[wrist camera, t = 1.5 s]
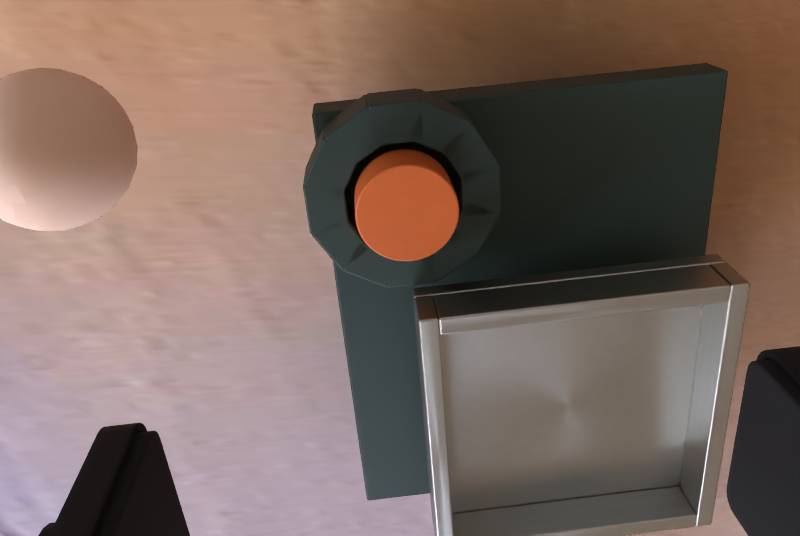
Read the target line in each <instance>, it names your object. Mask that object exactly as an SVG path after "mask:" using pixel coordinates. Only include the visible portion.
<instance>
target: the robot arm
mask: <svg viewBox="0 0 800 536" xmlns="http://www.w3.org/2000/svg"><path fill="white" fill-rule="evenodd" d="M727 498H728V502H729V505H730V508H731V510H732V512H733V513H734V515H735V516H736V518H737V519H738V521H739V522H740V524H741V525H742V527H743V528H744V530H745V531H746V533H747V534H748V536H800V347H799V346H798V347H789V348H780V349H772V350H765V351H762V352H761V353H760V354H759V355H758V357H757V360H756V361H753V362H751V363H750V364H749V365H748V369H747V374H746V379H745V385H744V391H743V397H742V403H741V408H740V414H739V420H738V426H737V432H736V437H735V443H734V449H733V455H732V461H731V466H730V472H729V478H728V484H727ZM39 536H190V534H189V531H188V528H187V525H186V521H185V518H184V515H183V511H182V508H181V505H180V502H179V498H178V495H177V492H176V489H175V485H174V482H173V479H172V476H171V472H170V469H169V466H168V463H167V459H166V456H165V453H164V450H163V446H162V443H161V440H160V437H159V435H158V433H157V432H156V431H148V432H147V430H146V427H145V426H144V425H143V424H142V423H134V424H125V425H117V426H108V427H103V428H101V429H100V431H99V432H98V434H97V436H96V438H95V440H94V442H93V445H92V447H91V449H90V451H89V453H88V455H87V457H86V459H85V461H84V464H83V466H82V468H81V470H80V472H79V474H78V476H77V478H76V480H75V483H74V485H73V487H72V489H71V491H70V493H69V495H68V497H67V499H66V501H65V504H64V506H63V508H62V510H61V512H60V514H59V516H58V518H57V520H56V522H55V523H49V524H48V525H47V526H46V527H44V528H43V529H42V531H41V533H40V534H39Z"/></svg>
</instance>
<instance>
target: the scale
mask: <svg viewBox="0 0 800 536" xmlns="http://www.w3.org/2000/svg"><path fill="white" fill-rule="evenodd" d="M727 75H728V72H727V71H726V70H724V69H721V68H718V67H716V66H713V65H711V64H708V63H702V64H692V65H683V66H673V67H663V68H654V69H644V70H634V71H625V72H615V73H605V74H596V75H586V76H576V77H567V78H557V79H547V80H538V81H528V82H518V83H509V84H499V85H489V86H480V87H470V88H460V89H451V90H441V91H431V92H425V91H423V90H421V89H406V90H397V91H387V92H377V93H368V94H367V95H364V96H362V97H361V98H359V99H354V100H344V101H335V102H325V103H316V104H314V106H313V113H312V118H313V125H314V132H315V139H316V145H315V147H314V150H313V152H312V154H311V157H310V159H309V161H308V164H307V166H306V170H305V177H304V185H303V190H304V196H305V202H306V209H307V215H308V221H309V228H310V233H311V234H312V236H313V237H314V238H315V239H316V241H317V242H318V243H319V244H320V245H321V247H322V248H323V249H324V250H325V251H326V252H327V254H328V255H329V256H330V257H331V258H332V260H333V265H334V272H335V279H336V286H337V293H338V299H339V306H340V313H341V320H342V327H343V334H344V341H345V348H346V355H347V362H348V369H349V376H350V383H351V390H352V397H353V404H354V411H355V418H356V425H357V432H358V439H359V446H360V453H361V460H362V467H363V474H364V481H365V488H366V495H367V499H368V500H376V499H384V498H392V497H401V496H409V495H417V494H425V493H430V486H429V474H428V463H427V452H426V440H425V429H424V418H423V406H422V395H421V383H420V372H419V361H418V349H417V338H416V326H415V315H414V304H413V292H412V290H413V289H414V288H421V287H429V286H438V285H447V284H456V283H465V282H474V281H483V280H492V279H501V278H509V277H518V276H527V275H536V274H545V273H554V272H563V271H572V270H581V269H589V268H598V267H607V266H616V265H625V264H634V263H643V262H652V261H661V260H670V259H678V258H687V257H696V256H705V250H706V242H707V234H708V226H709V218H710V210H711V202H712V194H713V186H714V178H715V170H716V162H717V154H718V146H719V138H720V130H721V122H722V114H723V106H724V99H725V91H726V83H727ZM398 149H412V150H417V151H420V152H423V153H426V154H428V155H430V156H431V157H433V158H434V159H435V160H437V161H438V162H439V163H440V164H441V165H442V167H443V168H444V169H445V171H446V172H447V174H448V176H449V179H450V181H451V183H452V186H453V188H454V190H455V193H456V195H457V198H458V202H459V219H458V223H457V227H456V229H455V231H454V233H453V235H452V237H451V238H450V240H449V241H448V242H447V243H446V244H445V245H444V246H443V247H442V248H441V249H440V250H438V251H437V252H436V253H434V254H432V255H430V256H428V257H426V258H423V259H419V260H414V261H397V260H392V259H389V258H386V257H383V256H381V255H379V254H378V253H376V252H375V251H373V250H372V249H371V248H370V247H369V246H368V245H367V244H366V243H365V242H364V240H363V239H362V237H361V235H360V233H359V231H358V228H357V225H356V220H355V201H354V193H355V187H356V183H357V180H358V178H359V176H360V174H361V172H362V171H363V170H364V168H365V167H366V166H367V165H368V164H369V163H370V162H371V161H372V160H373V159H375V158H376V157H378V156H380V155H381V154H384V153H386V152H389V151H392V150H398Z"/></svg>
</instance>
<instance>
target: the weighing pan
mask: <svg viewBox="0 0 800 536" xmlns="http://www.w3.org/2000/svg"><path fill="white" fill-rule="evenodd" d="M749 288H750V283H749V282H748V281H747V280H746V279H744V278H743V277H742V276H741V275H740V274H739V273H738V272H736V271H735V270H734V269H733V268H732V267H731V266H730V265H729V264H727V263H725V261H724V260H723V259H722V258H721V257H719V256H718V255H716V254H714V255H705V256H696V257H687V258H678V259H670V260H661V261H652V262H643V263H634V264H625V265H616V266H607V267H598V268H589V269H581V270H572V271H563V272H554V273H545V274H536V275H527V276H518V277H509V278H501V279H492V280H483V281H474V282H465V283H456V284H447V285H438V286H429V287H421V288H414V289H413V290H412V292H413V304H414V315H415V326H416V338H417V349H418V361H419V372H420V383H421V395H422V406H423V418H424V429H425V440H426V452H427V463H428V474H429V486H430V497H431V509H432V518H433V524H434V531H435V536H624V535H632V534H640V533H648V532H655V531H663V530H671V529H679V528H687V527H694V526H695V525H696V526H703V525H710V524H711V523H712V517H713V510H714V504H715V498H716V492H717V486H718V479H719V473H720V467H721V461H722V455H723V449H724V442H725V436H726V430H727V424H728V418H729V411H730V405H731V399H732V393H733V387H734V381H735V374H736V368H737V362H738V356H739V350H740V343H741V337H742V331H743V325H744V319H745V313H746V306H747V300H748V294H749Z"/></svg>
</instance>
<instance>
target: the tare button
mask: <svg viewBox="0 0 800 536" xmlns="http://www.w3.org/2000/svg"><path fill="white" fill-rule="evenodd" d="M354 201H355V220H356V225H357V228H358V231H359V233H360V235H361V237H362V239H363V240H364V242H365V243H366V244H367V245H368V246H369V247H370V248H371V249H372V250H373V251H375V252H376V253H378V254H379V255H381V256H383V257H386V258H389V259H392V260H397V261H414V260H419V259H423V258H426V257H428V256H430V255H432V254H434V253H436V252H437V251H438V250H440V249H441V248H442V247H443V246H444V245H445V244H446V243H447V242H448V241H449V240H450V238H451V237H452V235H453V233H454V231H455V229H456V227H457V223H458V219H459V202H458V198H457V195H456V193H455V190H454V188H453V186H452V183H451V181H450V179H449V176H448V174H447V172H446V171H445V169H444V168H443V167H442V165H441V164H440V163H439V162H438V161H437V160H435V159H434V158H433V157H431V156H430V155H428V154H426V153H423V152H420V151H417V150H412V149H398V150H392V151H389V152H386V153H384V154H381V155H380V156H378V157H376V158H375V159H373V160H372V161H371V162H370V163H369V164H368V165H367V166H366V167H365V168H364V170H363V171H362V172H361V174H360V176H359V178H358V180H357V183H356V187H355V193H354Z"/></svg>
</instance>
